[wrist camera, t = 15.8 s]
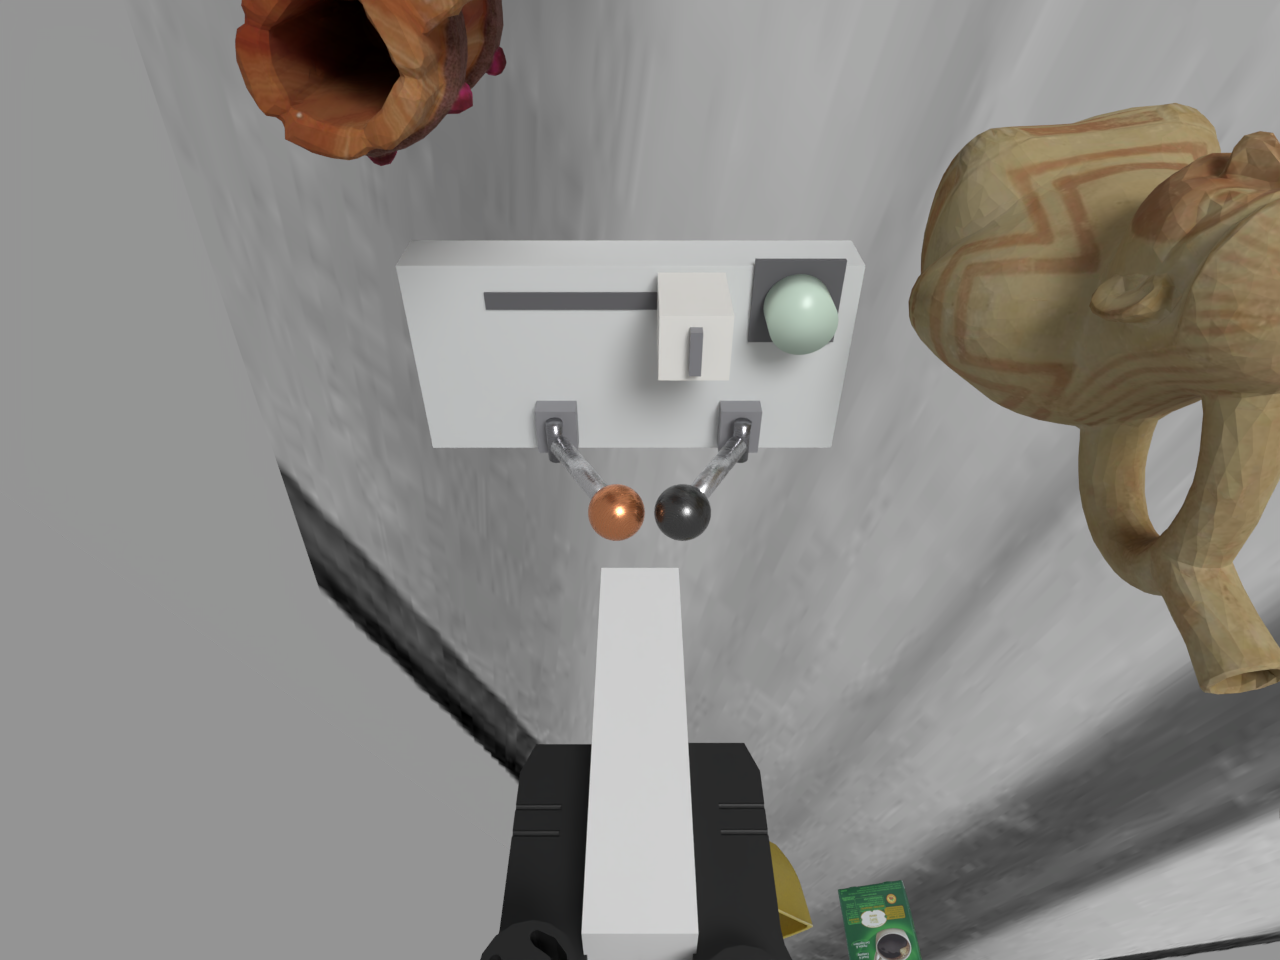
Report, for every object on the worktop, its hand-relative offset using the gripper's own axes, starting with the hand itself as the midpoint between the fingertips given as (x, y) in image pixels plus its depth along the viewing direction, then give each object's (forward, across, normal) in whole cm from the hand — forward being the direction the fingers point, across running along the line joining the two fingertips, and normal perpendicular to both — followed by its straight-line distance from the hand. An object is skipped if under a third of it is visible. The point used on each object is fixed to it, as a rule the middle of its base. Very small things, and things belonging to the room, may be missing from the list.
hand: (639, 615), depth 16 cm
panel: (+32, 0, -11) cm, 34 cm away
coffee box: (+33, +28, -86) cm, 96 cm away
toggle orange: (+27, -5, -15) cm, 31 cm away
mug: (+33, -8, +8) cm, 35 cm away
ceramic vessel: (+33, +22, -5) cm, 40 cm away
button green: (+28, +8, -7) cm, 30 cm away
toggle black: (+27, +6, -15) cm, 31 cm away
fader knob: (+29, +3, -7) cm, 29 cm away
